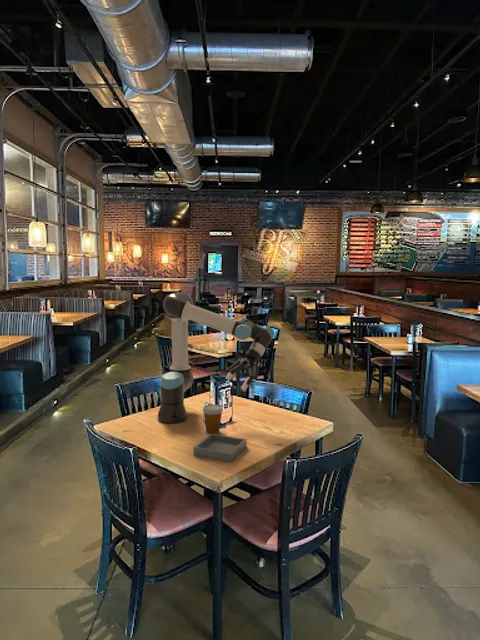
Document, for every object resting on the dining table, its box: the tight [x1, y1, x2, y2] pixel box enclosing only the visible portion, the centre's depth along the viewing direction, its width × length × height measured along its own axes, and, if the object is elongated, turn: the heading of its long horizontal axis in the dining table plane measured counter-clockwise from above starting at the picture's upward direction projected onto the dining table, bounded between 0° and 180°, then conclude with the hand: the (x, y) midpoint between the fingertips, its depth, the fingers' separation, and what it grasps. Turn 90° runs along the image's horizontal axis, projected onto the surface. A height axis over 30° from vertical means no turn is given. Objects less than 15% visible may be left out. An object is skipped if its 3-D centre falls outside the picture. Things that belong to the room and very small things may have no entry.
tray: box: [193, 433, 248, 464], centre depth 186 cm, size 17×17×4 cm
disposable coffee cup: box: [202, 404, 223, 435], centre depth 208 cm, size 10×10×12 cm
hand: (233, 386), depth 214 cm, fingers open, 13 cm apart
